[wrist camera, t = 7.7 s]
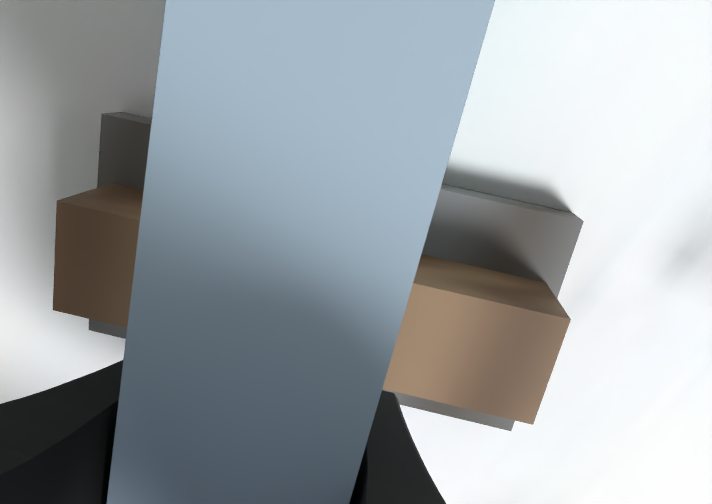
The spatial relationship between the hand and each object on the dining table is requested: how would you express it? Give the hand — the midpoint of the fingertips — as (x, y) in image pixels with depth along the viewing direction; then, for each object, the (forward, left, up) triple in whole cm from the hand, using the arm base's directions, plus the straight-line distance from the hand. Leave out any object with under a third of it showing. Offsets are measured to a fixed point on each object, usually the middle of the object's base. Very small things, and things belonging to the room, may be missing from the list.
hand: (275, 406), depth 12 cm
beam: (0, 0, -2) cm, 2 cm away
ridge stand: (0, 0, -9) cm, 9 cm away
